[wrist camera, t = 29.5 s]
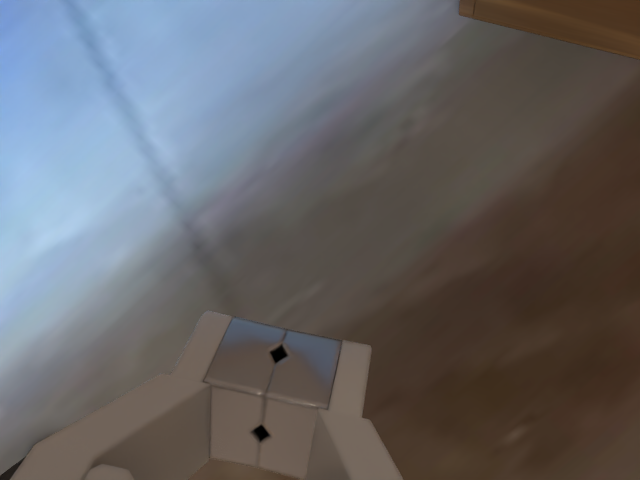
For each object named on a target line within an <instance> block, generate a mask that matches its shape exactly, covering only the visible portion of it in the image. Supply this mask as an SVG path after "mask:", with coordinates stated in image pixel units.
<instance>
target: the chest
mask: <svg viewBox="0 0 640 480" xmlns="http://www.w3.org/2000/svg"><path fill="white" fill-rule="evenodd" d="M459 15H461V16H465V17H469V18H473V19H477V20H481V21H485V22H489V23H493V24H497V25H501V26H505V27H509V28H514V29H518V30H522V31H526V32H530V33H534V34H538V35H542V36H546V37H550V38H554V39H558V40H562V41H566V42H570V43H574V44H578V45H582V46H586V47H590V48H594V49H598V50H603V51H607V52H611V53H615V54H619V55H623V56H627V57H631V58H635V59H639V60H640V0H460V4H459Z"/></svg>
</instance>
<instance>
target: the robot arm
mask: <svg viewBox="0 0 640 480" xmlns="http://www.w3.org/2000/svg"><path fill="white" fill-rule="evenodd" d="M341 345H342V346H341ZM340 350H341V351H340ZM371 351H372V349H371V346H370V345H365V344H360V343H355V342H350V341H345V340H343V343H342V340H339V339H334V338H329V337H324V336H319V335H314V334H309V333H305V332H300V331H295V330H290V329H285V328H281V327H276V326H272V325H268V324H264V323H260V322H256V321H251V320H247V319H243V318H239V317H232V316H228V315H224V314H219V313H215V312H211V311H206V312H205V313H204V314H203V315H202V316H201V318H200V320H199V322H198V323H197V325H196V327H195V329H194V331H193V333H192V335H191V336H190V338H189V340H188V342H187V344H186V346H185V348H184V350H183V351H182V353H181V355H180V357H179V359H178V361H177V363H176V365H175V366H174V368H173V370H172V372H171V374H170V375H168V374H163V373H161V374H159V375H158V376H156V377H154V378H152V379H151V380H149V381H147V382H145V383H143V384H142V385H140V386H138V387H136V388H135V389H133V390H131V391H129V392H127V393H126V394H124V395H122V396H120V397H118V398H117V399H115V400H113V401H111V402H110V403H108V404H106V405H104V406H102V407H101V408H99V409H97V410H95V411H94V412H92V413H90V414H88V415H86V416H85V417H83V418H81V419H79V420H77V421H76V422H74V423H72V424H70V425H69V426H67V427H65V428H63V429H61V430H60V431H58V432H56V433H54V434H52V435H51V436H49V437H47V438H45V439H44V440H42V441H40V442H38V443H36V444H35V445H34V446H33V448H32V449H31V450H30V452H29V453H28V455H27V456H26V457H25V459H24V460H23V462H22V463H21V465H20V466H19V467H18V469H17V470H16V472H15V473H14V474H13V476H12V477H11V479H10V480H187V479H188V478H189V477H191V476H192V475H193V474H194V473H195V472H196V471H198V470H199V469H200V468H201V467H202V466H203V465H205V464H206V463H207V462H208V461H209V458H211V459H216V460H221V461H226V462H231V463H236V464H240V465H245V466H250V467H255V468H259V469H263V470H267V471H271V472H274V473H278V474H282V475H286V476H290V477H294V478H297V479H301V480H403V478H402V476H401V474H400V473H399V471H398V469H397V467H396V465H395V464H394V462H393V460H392V458H391V456H390V455H389V453H388V451H387V449H386V447H385V446H384V444H383V442H382V440H381V438H380V437H379V435H378V433H377V431H376V429H375V428H374V426H373V424H372V422H371V421H370V420H368V419H364V418H362V412H363V406H364V399H365V392H366V385H367V378H368V372H369V365H370V358H371ZM339 355H340V356H339Z"/></svg>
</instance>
